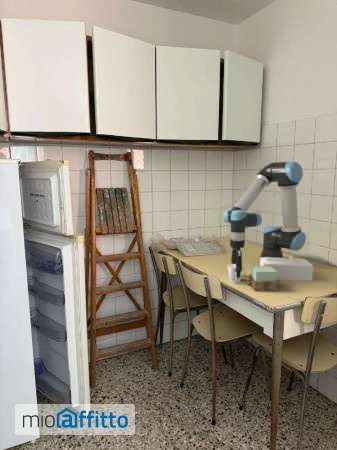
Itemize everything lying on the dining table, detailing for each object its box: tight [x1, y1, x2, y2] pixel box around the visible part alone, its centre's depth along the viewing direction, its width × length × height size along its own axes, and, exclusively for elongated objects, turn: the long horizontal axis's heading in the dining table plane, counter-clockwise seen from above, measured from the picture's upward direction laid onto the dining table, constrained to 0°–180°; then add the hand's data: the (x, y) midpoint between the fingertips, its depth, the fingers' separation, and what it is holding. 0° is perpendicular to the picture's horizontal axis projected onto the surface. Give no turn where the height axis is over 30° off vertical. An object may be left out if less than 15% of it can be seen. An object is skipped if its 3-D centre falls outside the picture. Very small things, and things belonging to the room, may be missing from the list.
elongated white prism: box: [259, 255, 314, 282], centre depth 173 cm, size 14×25×11 cm, turn 83°
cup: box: [227, 263, 246, 282], centre depth 166 cm, size 7×10×8 cm
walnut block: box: [248, 274, 281, 292], centre depth 156 cm, size 12×12×5 cm
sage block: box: [250, 265, 278, 282], centre depth 155 cm, size 10×10×5 cm
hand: (235, 279), depth 167 cm, fingers open, 10 cm apart
